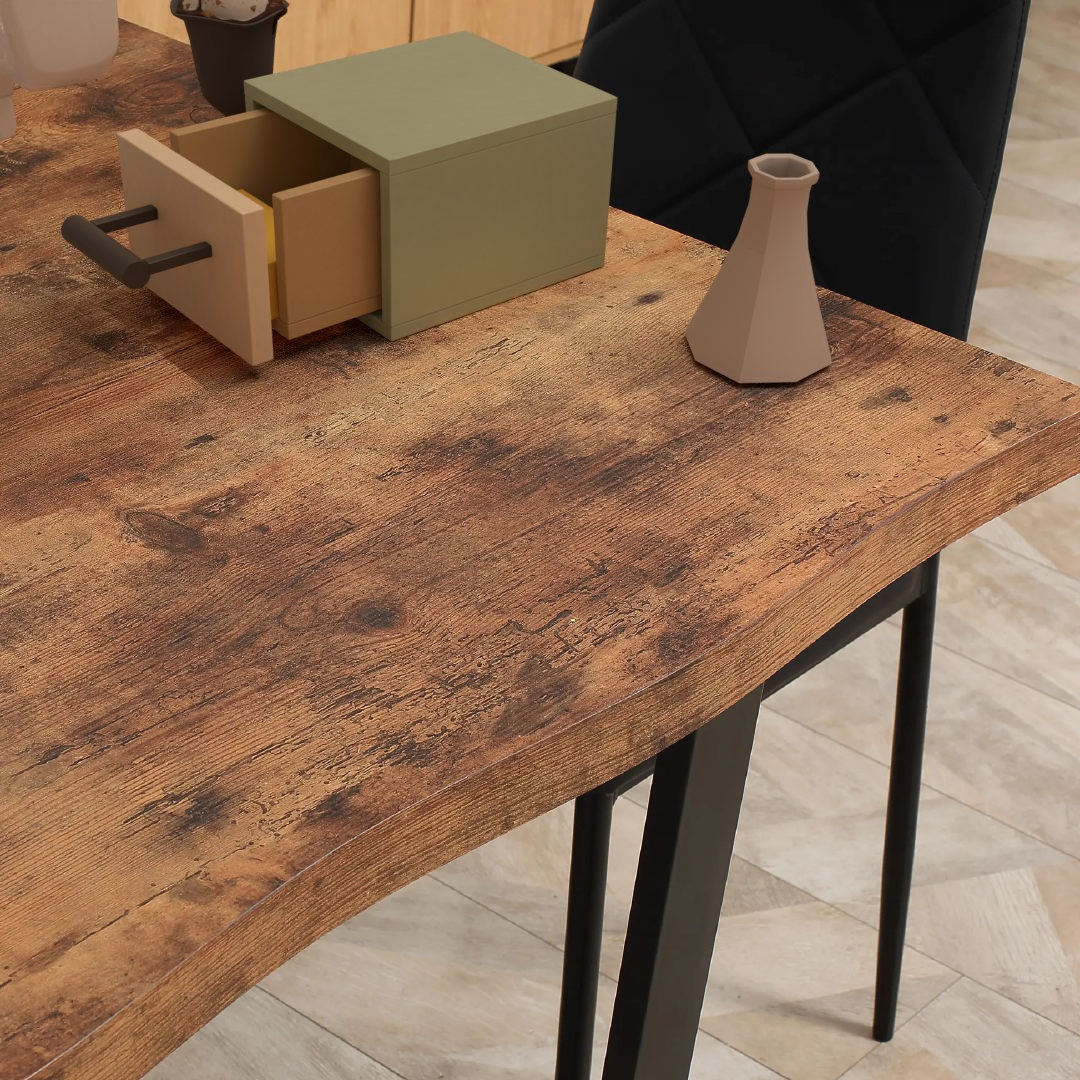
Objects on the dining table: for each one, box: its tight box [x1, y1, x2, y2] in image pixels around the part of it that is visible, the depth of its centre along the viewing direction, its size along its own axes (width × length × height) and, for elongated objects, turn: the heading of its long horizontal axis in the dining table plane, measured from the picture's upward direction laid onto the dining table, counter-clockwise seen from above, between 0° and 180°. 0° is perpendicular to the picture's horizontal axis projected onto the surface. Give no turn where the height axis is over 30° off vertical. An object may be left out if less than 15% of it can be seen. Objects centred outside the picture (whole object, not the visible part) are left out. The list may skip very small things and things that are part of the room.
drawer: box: [60, 107, 382, 367], centre depth 77 cm, size 18×11×8 cm, turn 131°
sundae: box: [169, 0, 290, 118], centre depth 89 cm, size 7×7×15 cm
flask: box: [683, 153, 833, 384], centre depth 75 cm, size 7×7×10 cm
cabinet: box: [244, 29, 618, 342], centre depth 82 cm, size 15×13×10 cm
